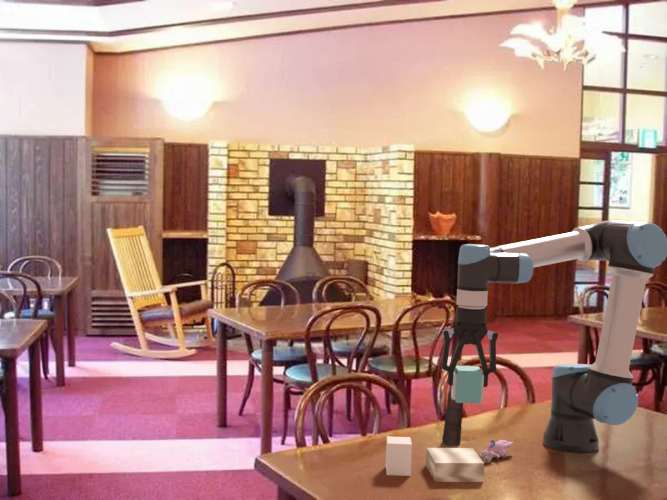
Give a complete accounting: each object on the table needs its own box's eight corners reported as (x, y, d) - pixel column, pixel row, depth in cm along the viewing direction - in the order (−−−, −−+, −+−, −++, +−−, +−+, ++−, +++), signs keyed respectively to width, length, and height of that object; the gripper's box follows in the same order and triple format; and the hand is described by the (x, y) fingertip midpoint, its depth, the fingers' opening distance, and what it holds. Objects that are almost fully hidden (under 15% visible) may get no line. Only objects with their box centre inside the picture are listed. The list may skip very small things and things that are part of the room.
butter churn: (477, 447, 231) (482, 347, 229) (447, 450, 228) (451, 348, 226) (461, 437, 240) (465, 341, 238) (432, 440, 237) (435, 342, 235)
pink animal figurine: (490, 471, 216) (520, 450, 226) (489, 450, 214) (519, 430, 225) (470, 465, 220) (500, 445, 230) (468, 444, 219) (499, 425, 229)
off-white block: (409, 467, 213) (410, 437, 212) (410, 475, 207) (411, 444, 206) (385, 467, 213) (386, 436, 212) (386, 475, 207) (387, 443, 206)
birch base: (471, 467, 216) (472, 448, 215) (483, 483, 204) (484, 463, 203) (425, 466, 215) (426, 447, 214) (434, 483, 203) (435, 462, 202)
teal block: (477, 397, 211) (478, 366, 210) (480, 403, 205) (482, 371, 204) (453, 396, 211) (454, 365, 210) (456, 402, 205) (457, 370, 204)
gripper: (507, 306, 210) (502, 397, 211) (431, 303, 210) (427, 393, 211) (513, 310, 202) (507, 404, 204) (434, 307, 202) (429, 400, 204)
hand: (466, 398), depth 208 cm, fingers closed on teal block, 6 cm apart
